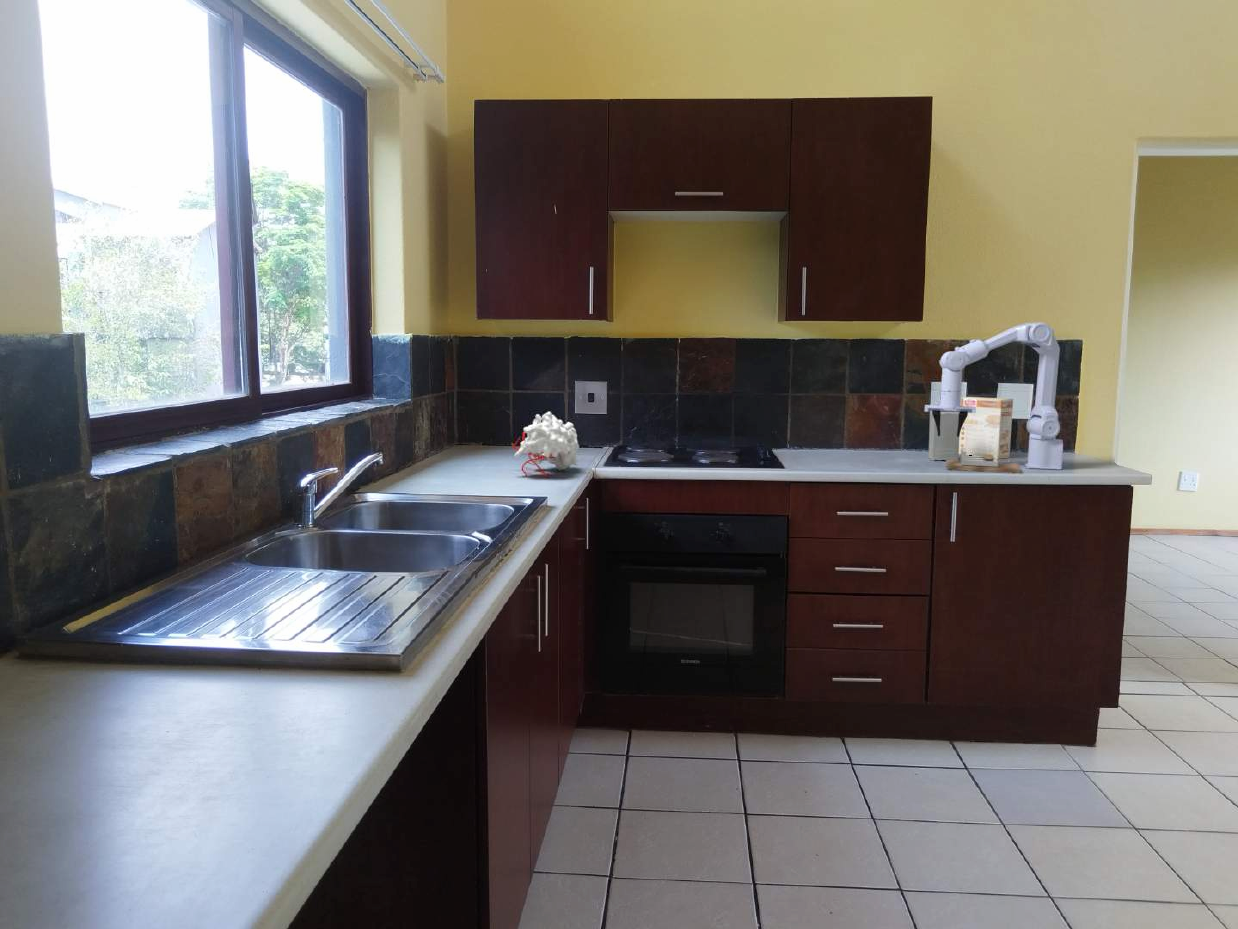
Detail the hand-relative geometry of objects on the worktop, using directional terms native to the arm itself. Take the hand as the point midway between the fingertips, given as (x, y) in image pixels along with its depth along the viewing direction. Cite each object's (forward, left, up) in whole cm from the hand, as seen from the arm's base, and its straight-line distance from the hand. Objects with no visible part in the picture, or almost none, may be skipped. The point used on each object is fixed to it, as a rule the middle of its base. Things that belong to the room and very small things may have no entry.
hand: (948, 436), depth 276 cm
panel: (-9, 0, -8) cm, 12 cm away
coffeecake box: (-12, -32, -10) cm, 36 cm away
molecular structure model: (+107, +59, -10) cm, 123 cm away
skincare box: (+1, -16, -10) cm, 19 cm away
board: (-10, 0, -9) cm, 14 cm away
